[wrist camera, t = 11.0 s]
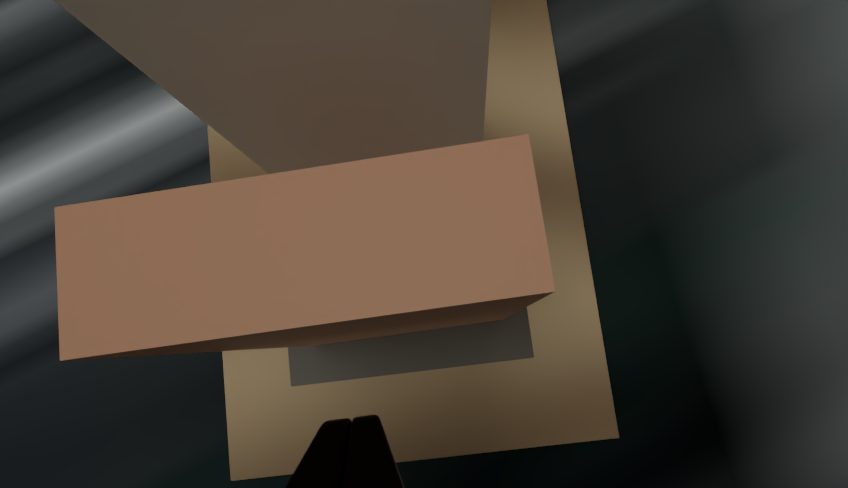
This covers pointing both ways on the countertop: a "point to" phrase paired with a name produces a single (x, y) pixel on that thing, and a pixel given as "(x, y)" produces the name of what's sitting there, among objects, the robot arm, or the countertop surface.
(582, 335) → the domino board
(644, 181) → the countertop surface
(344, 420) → the robot arm
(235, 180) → the domino
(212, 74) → the domino
